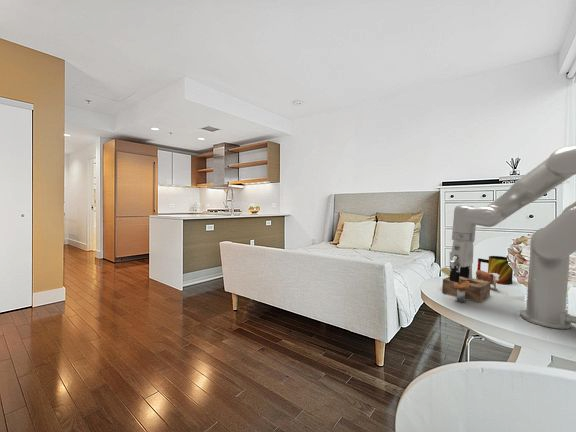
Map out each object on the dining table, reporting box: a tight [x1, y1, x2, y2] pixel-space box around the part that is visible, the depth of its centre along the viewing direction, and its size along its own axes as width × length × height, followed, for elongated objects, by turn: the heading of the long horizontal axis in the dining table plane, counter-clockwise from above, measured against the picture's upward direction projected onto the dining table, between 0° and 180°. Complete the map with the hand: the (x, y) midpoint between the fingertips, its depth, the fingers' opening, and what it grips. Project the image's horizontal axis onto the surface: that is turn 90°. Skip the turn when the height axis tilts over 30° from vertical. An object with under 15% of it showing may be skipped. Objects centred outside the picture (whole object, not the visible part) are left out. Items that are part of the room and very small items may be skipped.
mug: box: [476, 255, 514, 286], centre depth 136 cm, size 10×14×12 cm
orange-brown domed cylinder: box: [454, 279, 470, 304], centre depth 108 cm, size 5×5×8 cm
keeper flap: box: [440, 266, 450, 277], centre depth 121 cm, size 6×4×1 cm
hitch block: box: [441, 276, 491, 304], centre depth 116 cm, size 14×12×6 cm
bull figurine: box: [475, 269, 502, 291], centre depth 125 cm, size 4×13×8 cm, turn 2°
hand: (459, 279), depth 108 cm, fingers open, 9 cm apart
